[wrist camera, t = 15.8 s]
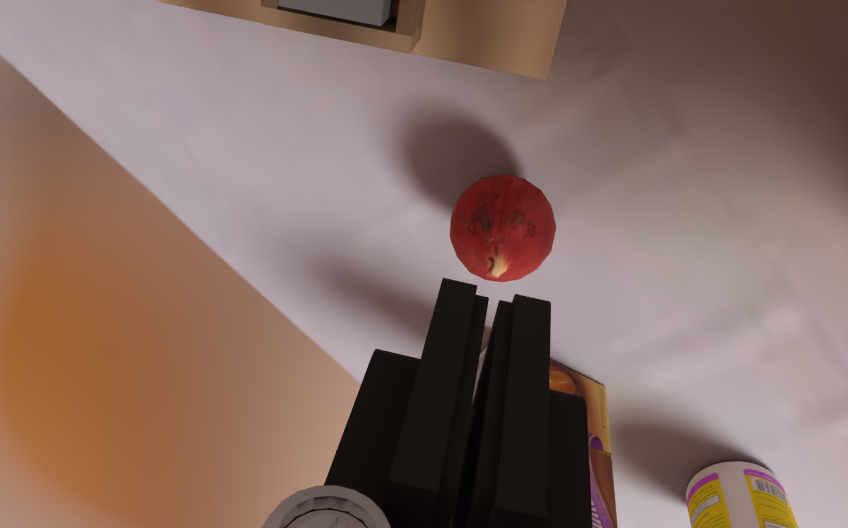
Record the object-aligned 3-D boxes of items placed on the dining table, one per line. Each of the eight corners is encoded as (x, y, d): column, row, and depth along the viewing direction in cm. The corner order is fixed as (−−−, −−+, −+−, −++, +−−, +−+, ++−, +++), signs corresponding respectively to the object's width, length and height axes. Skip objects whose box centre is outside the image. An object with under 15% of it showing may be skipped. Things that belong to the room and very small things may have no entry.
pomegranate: (447, 165, 41) (425, 229, 34) (543, 144, 39) (540, 206, 32) (472, 248, 43) (457, 323, 37) (564, 232, 42) (565, 307, 35)
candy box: (465, 370, 48) (432, 559, 36) (495, 329, 46) (471, 515, 33) (574, 425, 49) (580, 628, 36) (609, 387, 47) (628, 589, 34)
